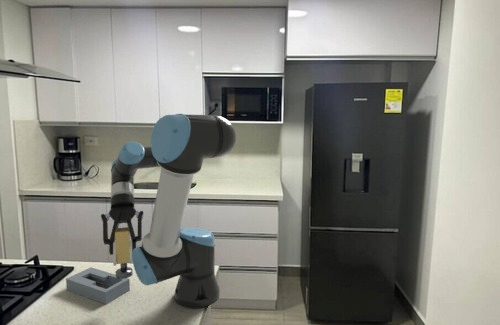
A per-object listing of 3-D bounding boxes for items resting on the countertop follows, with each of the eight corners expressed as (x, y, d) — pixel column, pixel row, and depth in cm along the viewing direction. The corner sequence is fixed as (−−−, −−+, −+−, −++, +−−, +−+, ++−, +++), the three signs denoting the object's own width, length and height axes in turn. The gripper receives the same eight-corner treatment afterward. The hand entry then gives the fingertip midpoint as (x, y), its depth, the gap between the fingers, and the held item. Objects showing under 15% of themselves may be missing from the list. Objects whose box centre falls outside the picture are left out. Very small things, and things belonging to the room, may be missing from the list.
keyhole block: (129, 290, 116) (129, 278, 115) (106, 304, 107) (105, 292, 106) (91, 277, 124) (90, 267, 124) (66, 290, 115) (65, 278, 115)
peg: (132, 270, 109) (130, 226, 107) (132, 277, 104) (130, 231, 102) (116, 272, 107) (114, 228, 105) (115, 279, 102) (113, 233, 100)
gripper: (148, 201, 120) (152, 263, 107) (96, 205, 115) (93, 271, 101) (148, 190, 114) (152, 254, 101) (94, 193, 109) (90, 261, 95)
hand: (123, 262), depth 101 cm, fingers closed on peg, 4 cm apart
